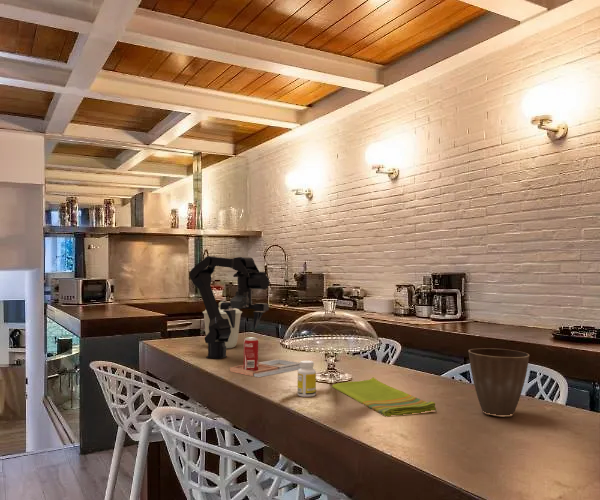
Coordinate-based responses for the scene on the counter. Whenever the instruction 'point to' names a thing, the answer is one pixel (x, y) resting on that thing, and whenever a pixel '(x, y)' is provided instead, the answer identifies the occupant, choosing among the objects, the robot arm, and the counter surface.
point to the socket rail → (268, 368)
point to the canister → (234, 331)
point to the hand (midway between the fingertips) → (244, 328)
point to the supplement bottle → (306, 379)
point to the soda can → (250, 354)
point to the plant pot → (498, 378)
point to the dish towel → (383, 397)
